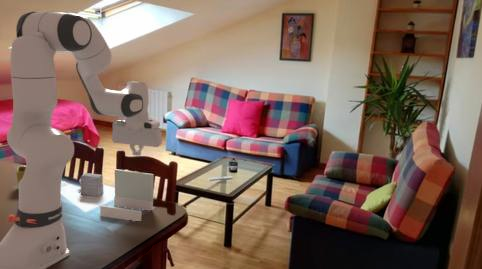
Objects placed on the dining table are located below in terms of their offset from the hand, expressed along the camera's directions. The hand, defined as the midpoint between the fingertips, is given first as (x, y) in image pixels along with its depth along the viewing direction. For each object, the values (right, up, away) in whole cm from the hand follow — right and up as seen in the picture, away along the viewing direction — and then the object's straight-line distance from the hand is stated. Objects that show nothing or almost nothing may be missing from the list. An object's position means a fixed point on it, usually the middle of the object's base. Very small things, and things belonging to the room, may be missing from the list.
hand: (136, 155), depth 159 cm
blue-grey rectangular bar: (-2, -23, -7) cm, 24 cm away
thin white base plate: (-2, -22, -7) cm, 23 cm away
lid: (0, -12, -4) cm, 12 cm away
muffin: (-27, -16, +17) cm, 36 cm away
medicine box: (-22, -18, +10) cm, 30 cm away
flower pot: (-50, -15, +10) cm, 53 cm away
